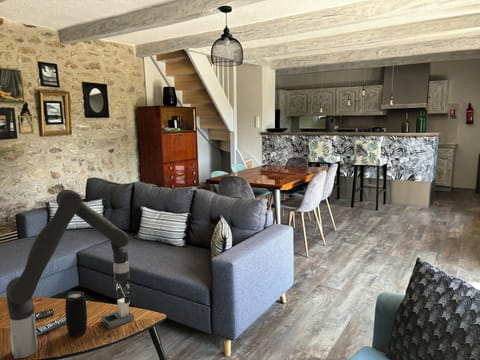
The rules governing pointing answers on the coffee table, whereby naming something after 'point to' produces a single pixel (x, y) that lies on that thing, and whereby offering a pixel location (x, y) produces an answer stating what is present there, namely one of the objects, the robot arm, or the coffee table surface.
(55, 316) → the coffee table surface
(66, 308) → the portable speaker
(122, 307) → the plug
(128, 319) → the panel
